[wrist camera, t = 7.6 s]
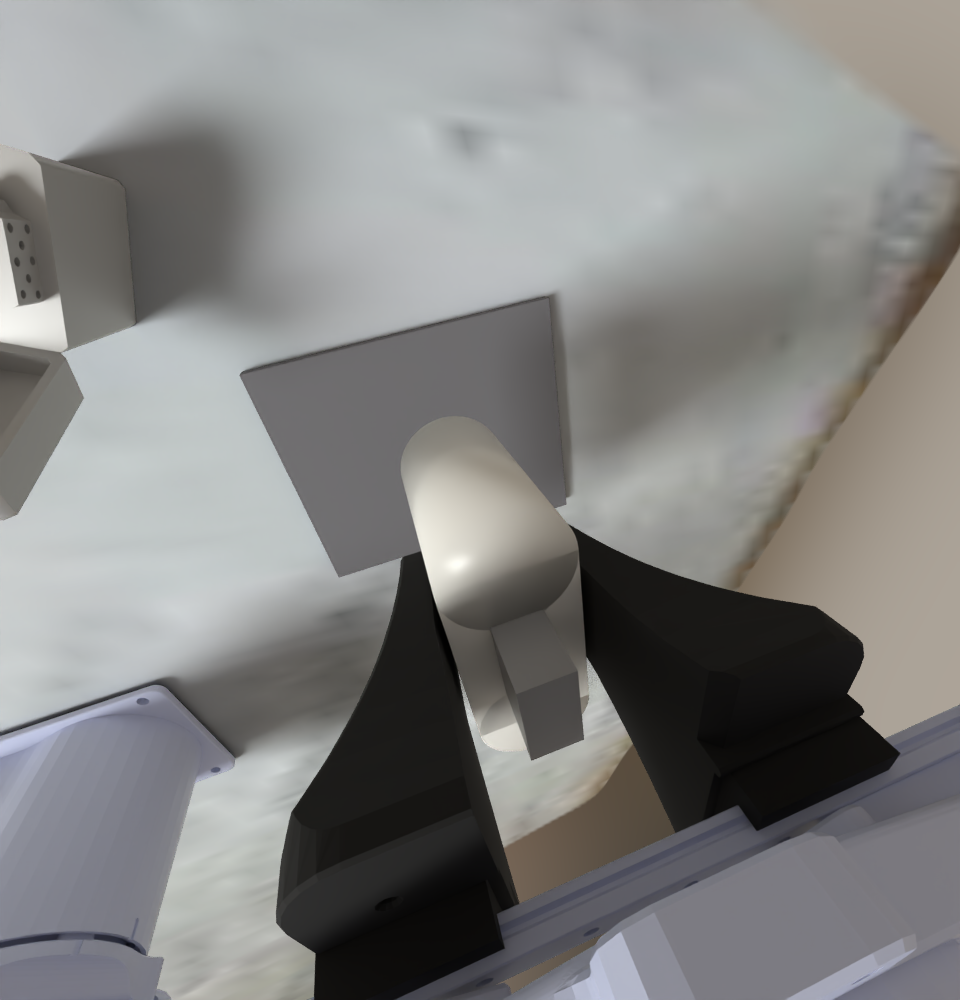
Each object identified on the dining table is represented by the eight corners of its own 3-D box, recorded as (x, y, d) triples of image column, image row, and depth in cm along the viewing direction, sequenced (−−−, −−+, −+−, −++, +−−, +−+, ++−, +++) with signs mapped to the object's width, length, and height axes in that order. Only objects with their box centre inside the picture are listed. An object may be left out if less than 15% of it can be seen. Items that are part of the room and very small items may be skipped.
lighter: (47, 159, 12) (-321, 46, 5) (124, 182, 13) (-121, 105, 6) (83, 404, 15) (-124, 529, 8) (143, 413, 16) (-4, 535, 9)
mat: (339, 570, 21) (338, 577, 21) (241, 371, 16) (239, 375, 15) (562, 499, 23) (566, 504, 22) (544, 297, 17) (549, 298, 17)
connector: (451, 629, 16) (509, 831, 10) (387, 433, 11) (429, 601, 6) (526, 603, 16) (622, 784, 11) (492, 403, 12) (623, 536, 6)
